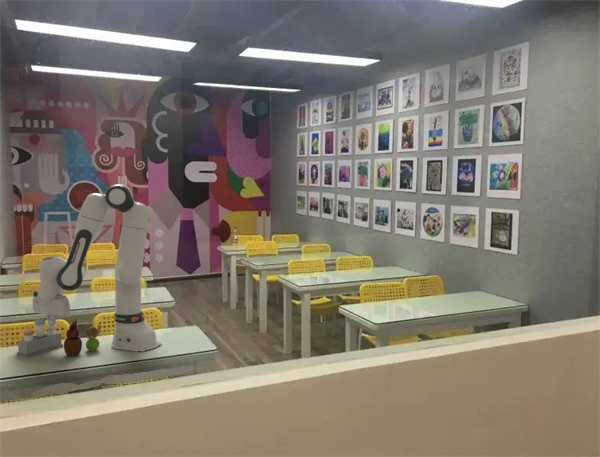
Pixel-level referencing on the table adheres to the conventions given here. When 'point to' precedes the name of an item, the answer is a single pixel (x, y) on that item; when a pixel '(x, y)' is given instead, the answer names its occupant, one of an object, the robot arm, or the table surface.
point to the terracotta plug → (28, 335)
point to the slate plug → (40, 328)
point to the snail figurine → (93, 338)
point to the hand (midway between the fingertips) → (51, 324)
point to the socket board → (39, 345)
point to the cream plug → (51, 329)
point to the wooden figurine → (72, 341)
